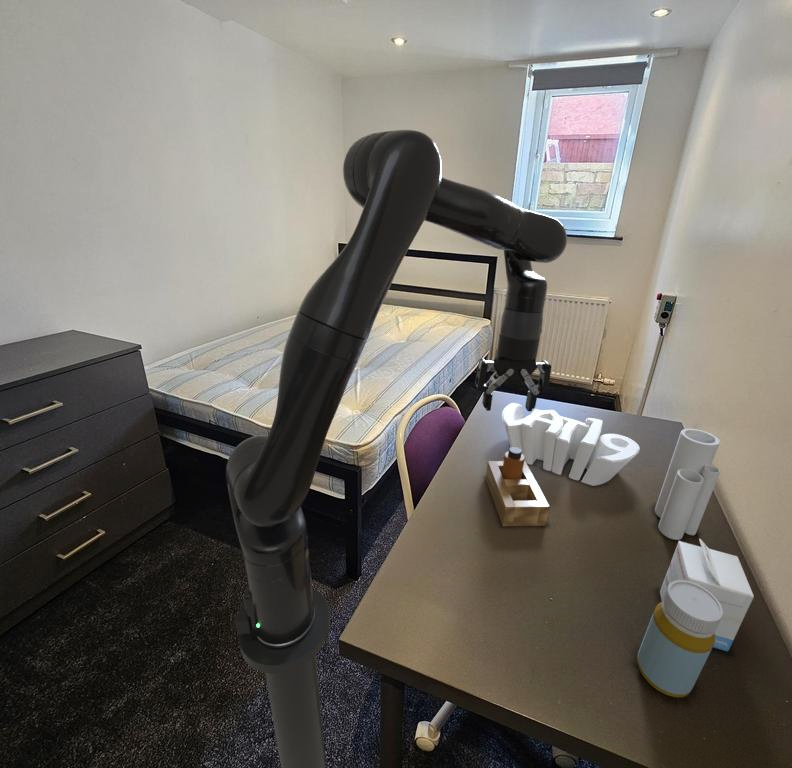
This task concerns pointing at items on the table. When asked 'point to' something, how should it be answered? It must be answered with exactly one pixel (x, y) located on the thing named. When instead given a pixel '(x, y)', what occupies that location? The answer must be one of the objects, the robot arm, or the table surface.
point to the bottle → (679, 638)
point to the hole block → (517, 497)
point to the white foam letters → (568, 443)
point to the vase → (688, 484)
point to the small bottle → (513, 463)
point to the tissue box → (714, 584)
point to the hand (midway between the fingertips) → (507, 409)
